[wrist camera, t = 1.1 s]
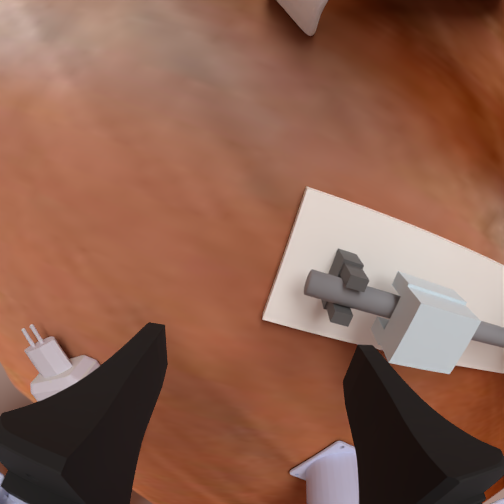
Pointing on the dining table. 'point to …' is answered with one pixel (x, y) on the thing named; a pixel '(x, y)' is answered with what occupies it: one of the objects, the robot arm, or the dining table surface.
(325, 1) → the spoon rest
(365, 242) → the white slide rail base
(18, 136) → the dining table surface
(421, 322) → the light grey sliding block
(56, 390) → the charger
